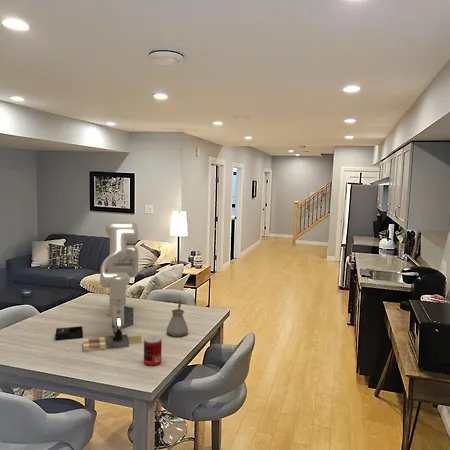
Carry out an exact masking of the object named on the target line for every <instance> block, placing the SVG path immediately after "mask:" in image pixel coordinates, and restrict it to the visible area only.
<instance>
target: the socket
mask: <svg viewBox="0 0 450 450" xmlns="http://www.w3.org/2000/svg"><path fill="white" fill-rule="evenodd" d="M128 337H129V336H128V334H122V339H121V340H116V341H114V335H106V338H105V343H106V347H107V350H110V349H111V350H112V349H123V348H129V347H130V344H129V340H128Z"/></svg>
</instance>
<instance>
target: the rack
mask: <svg viewBox="0 0 450 450" xmlns="http://www.w3.org/2000/svg"><path fill="white" fill-rule="evenodd" d="M82 340H83V341H82V353H90V352H91V353H93V352H100V351H106V347H107V343H106V338H105V336H101V337H88V338H82Z"/></svg>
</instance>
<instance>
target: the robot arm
mask: <svg viewBox="0 0 450 450" xmlns="http://www.w3.org/2000/svg"><path fill="white" fill-rule="evenodd" d="M105 232H106V234H107V235H108V237H109V255H108V256H107V257H106V258H105V259H104V260H103V262H102V263H101V265H100V273H99V275H100V278H99V280H100V281H99V283H100V285H101V287H102V288H106V289H108V288H109V294H108V295H109V301H108V302H109V305H108V307H109V309H108V310H107V311H106V315H107V316H109V317H112V316H113V323H114V328H113V331H114V330H115V340H118V339H122V335H123V329H121V324H122V325H124V307H125V306H126V305H127V301H126V300H127V287H128V285H129V284H130V281H131V279H130V278H135V277H137V276H138V274H139V249H138V247H137V246H136V245H127V244H136V243H137V242H138V240H139V227H138V224H137V223H135V222H123V221H121V222H120V221H114V222H113V221H110V222H107V223H106V224H105ZM116 324H118V325H116Z"/></svg>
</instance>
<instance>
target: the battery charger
mask: <svg viewBox="0 0 450 450" xmlns="http://www.w3.org/2000/svg"><path fill="white" fill-rule="evenodd" d="M83 333H84V330H83V326H82V325H80V326H69V327H56V328H55V342H56V341H69V340H77V339H84V334H83Z"/></svg>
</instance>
